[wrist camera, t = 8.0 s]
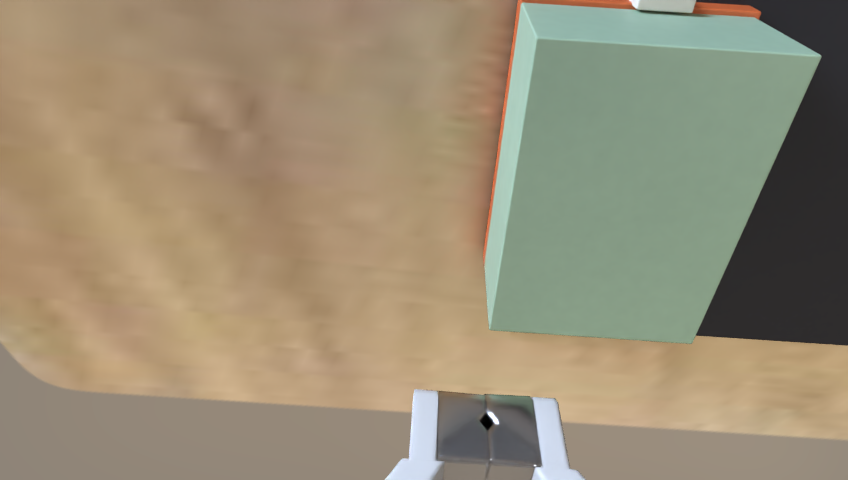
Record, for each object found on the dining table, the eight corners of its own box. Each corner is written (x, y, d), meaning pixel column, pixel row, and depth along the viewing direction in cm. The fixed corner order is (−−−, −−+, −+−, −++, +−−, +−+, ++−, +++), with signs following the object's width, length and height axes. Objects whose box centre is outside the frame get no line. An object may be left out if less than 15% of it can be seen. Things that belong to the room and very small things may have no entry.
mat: (490, 318, 31) (490, 322, 31) (567, -177, 19) (569, -178, 18) (872, 343, 31) (876, 347, 31) (1213, -140, 18) (1223, -139, 18)
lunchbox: (487, 341, 24) (692, 355, 24) (539, 15, 16) (840, 35, 16) (481, 261, 29) (654, 273, 28) (520, -22, 21) (755, -7, 21)
